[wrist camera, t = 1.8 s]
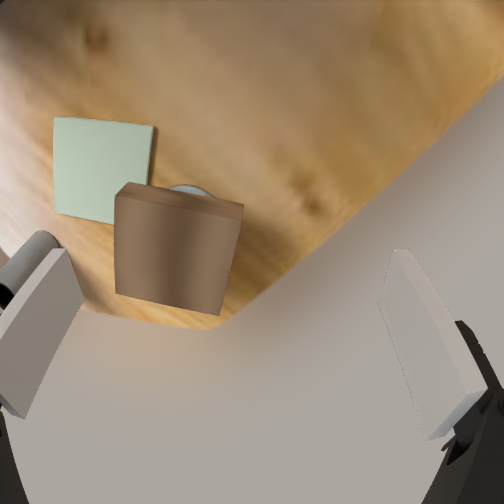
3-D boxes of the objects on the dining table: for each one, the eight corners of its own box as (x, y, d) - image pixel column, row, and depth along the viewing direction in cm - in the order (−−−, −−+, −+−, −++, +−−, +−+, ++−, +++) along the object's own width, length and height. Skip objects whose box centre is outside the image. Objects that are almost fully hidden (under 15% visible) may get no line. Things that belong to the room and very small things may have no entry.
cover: (125, 274, 30) (115, 293, 28) (127, 181, 25) (114, 195, 22) (221, 294, 31) (219, 315, 29) (243, 204, 26) (242, 221, 24)
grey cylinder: (31, 251, 34) (-10, 302, 26) (34, 224, 32) (-13, 274, 24) (58, 265, 36) (20, 320, 27) (62, 239, 33) (18, 293, 25)
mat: (57, 210, 31) (55, 212, 31) (57, 115, 25) (54, 117, 25) (143, 227, 33) (142, 230, 32) (154, 126, 27) (152, 127, 26)
